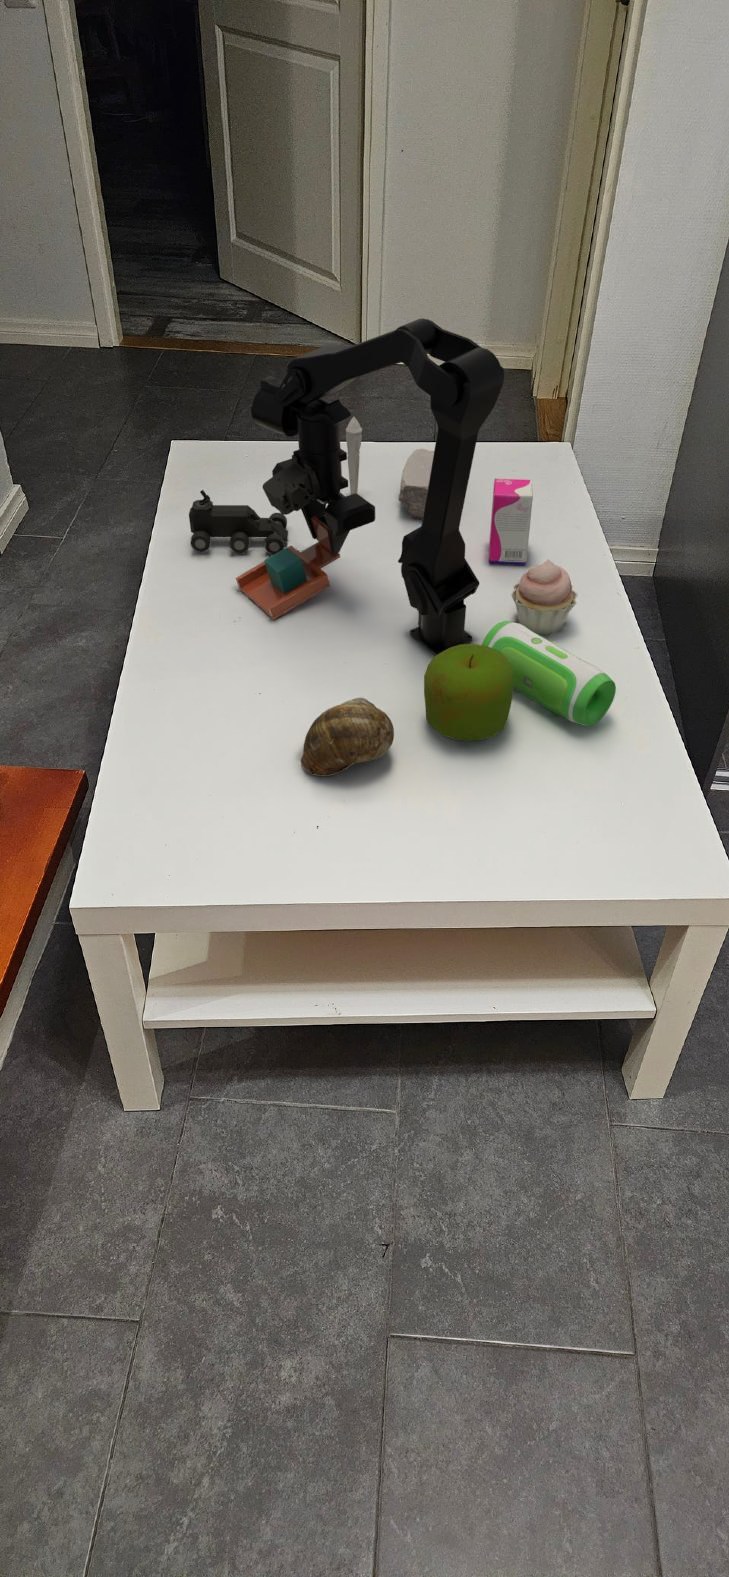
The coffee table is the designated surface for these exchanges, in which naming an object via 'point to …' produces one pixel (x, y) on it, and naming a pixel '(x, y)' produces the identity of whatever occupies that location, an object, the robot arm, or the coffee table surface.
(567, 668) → the speaker
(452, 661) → the apple
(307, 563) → the orange handled tray
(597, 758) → the coffee table surface
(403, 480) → the decorative stone
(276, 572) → the block
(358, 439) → the grey pointed rod
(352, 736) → the seashell
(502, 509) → the supplement box
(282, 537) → the toy vehicle
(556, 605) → the cupcake
